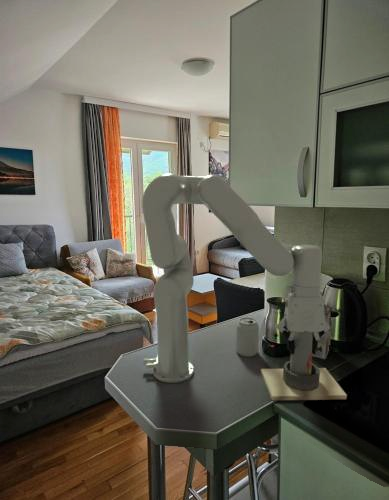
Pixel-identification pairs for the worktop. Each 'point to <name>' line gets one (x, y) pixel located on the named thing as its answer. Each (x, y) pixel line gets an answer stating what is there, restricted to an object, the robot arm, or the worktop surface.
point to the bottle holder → (301, 384)
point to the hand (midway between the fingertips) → (301, 351)
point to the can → (247, 337)
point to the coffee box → (324, 336)
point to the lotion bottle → (302, 354)
